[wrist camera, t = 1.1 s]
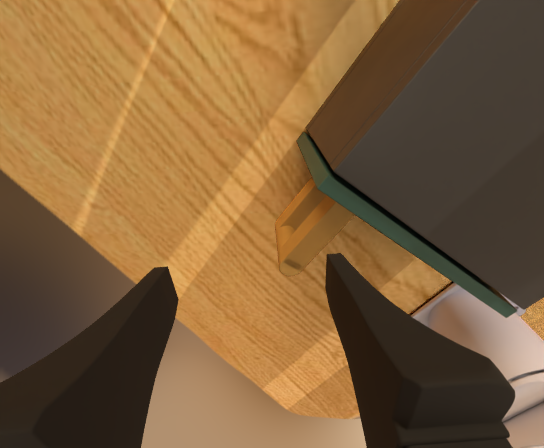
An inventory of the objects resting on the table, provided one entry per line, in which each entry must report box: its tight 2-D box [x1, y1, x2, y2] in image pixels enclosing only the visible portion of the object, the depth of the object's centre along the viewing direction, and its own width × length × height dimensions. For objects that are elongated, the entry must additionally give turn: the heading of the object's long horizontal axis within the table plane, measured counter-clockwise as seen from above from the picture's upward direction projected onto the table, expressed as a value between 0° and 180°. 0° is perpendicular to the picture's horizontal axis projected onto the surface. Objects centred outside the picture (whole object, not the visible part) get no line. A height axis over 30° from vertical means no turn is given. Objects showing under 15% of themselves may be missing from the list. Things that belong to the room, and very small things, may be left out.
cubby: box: [306, 0, 544, 310], centre depth 16 cm, size 10×16×9 cm, turn 55°
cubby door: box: [275, 132, 517, 318], centre depth 20 cm, size 6×16×8 cm, turn 55°
